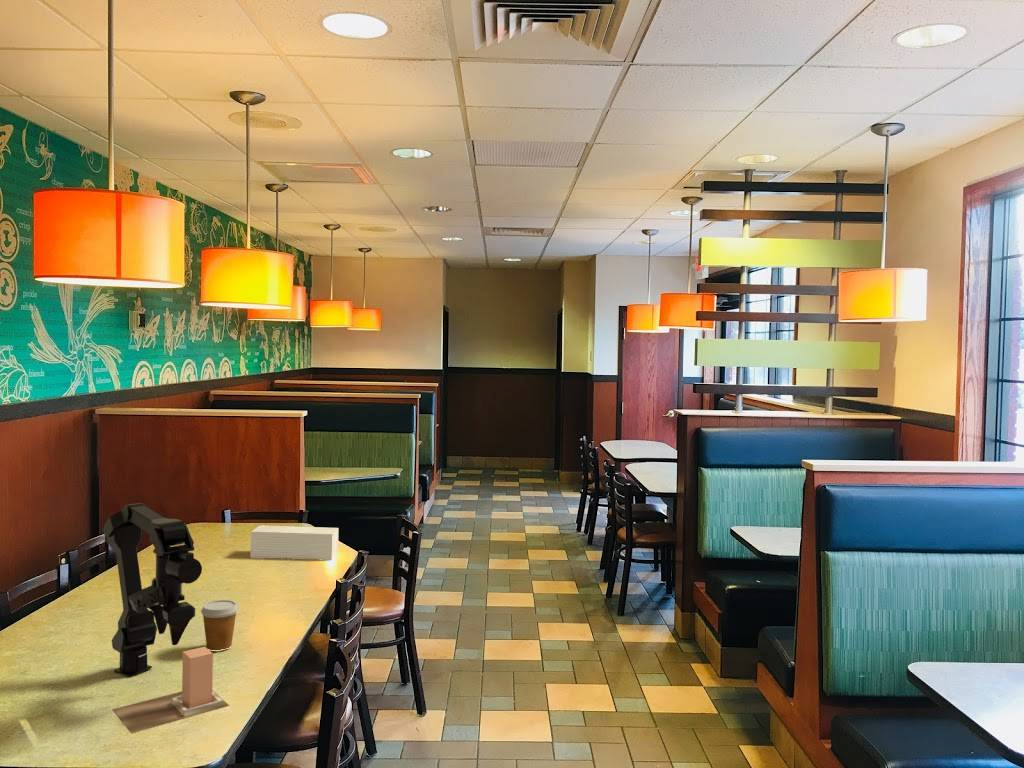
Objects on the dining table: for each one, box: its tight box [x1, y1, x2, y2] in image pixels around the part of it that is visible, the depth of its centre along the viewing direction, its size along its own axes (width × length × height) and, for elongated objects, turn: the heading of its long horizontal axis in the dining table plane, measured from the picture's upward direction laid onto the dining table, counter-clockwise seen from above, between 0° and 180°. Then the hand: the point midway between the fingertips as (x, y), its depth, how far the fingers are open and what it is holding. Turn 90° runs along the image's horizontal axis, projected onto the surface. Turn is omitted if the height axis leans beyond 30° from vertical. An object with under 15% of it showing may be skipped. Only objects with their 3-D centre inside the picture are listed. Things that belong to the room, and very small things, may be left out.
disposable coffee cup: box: [200, 599, 239, 650], centre depth 215 cm, size 10×10×12 cm
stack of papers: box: [249, 524, 340, 561], centre depth 312 cm, size 32×11×11 cm, turn 90°
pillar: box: [181, 646, 214, 709], centre depth 179 cm, size 5×5×12 cm
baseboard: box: [112, 689, 230, 734], centre depth 177 cm, size 14×21×2 cm, turn 132°
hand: (168, 639), depth 186 cm, fingers open, 9 cm apart
